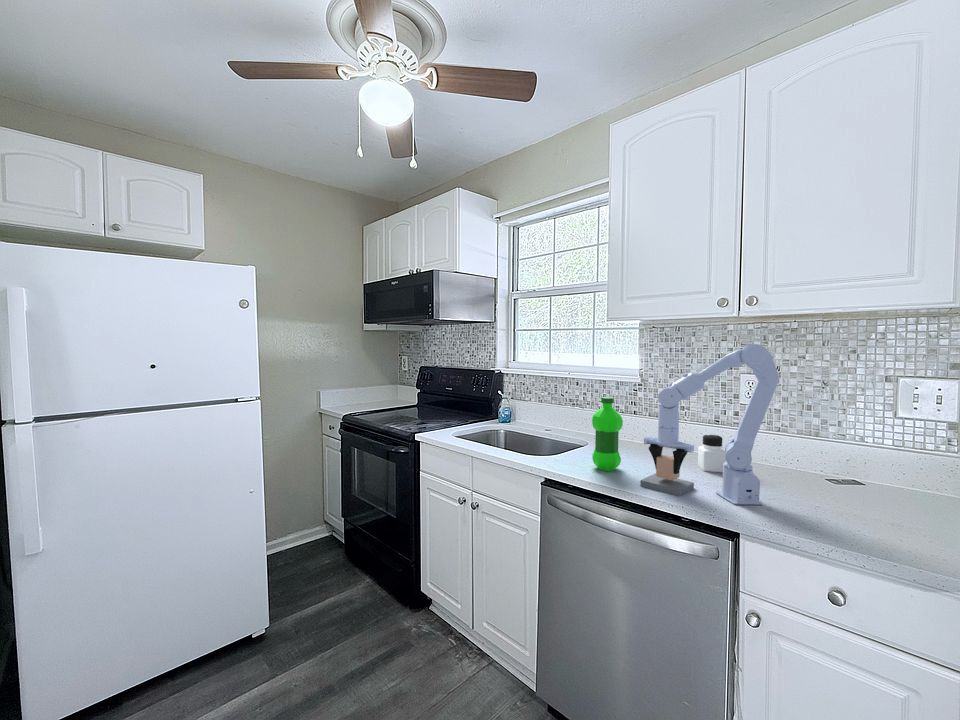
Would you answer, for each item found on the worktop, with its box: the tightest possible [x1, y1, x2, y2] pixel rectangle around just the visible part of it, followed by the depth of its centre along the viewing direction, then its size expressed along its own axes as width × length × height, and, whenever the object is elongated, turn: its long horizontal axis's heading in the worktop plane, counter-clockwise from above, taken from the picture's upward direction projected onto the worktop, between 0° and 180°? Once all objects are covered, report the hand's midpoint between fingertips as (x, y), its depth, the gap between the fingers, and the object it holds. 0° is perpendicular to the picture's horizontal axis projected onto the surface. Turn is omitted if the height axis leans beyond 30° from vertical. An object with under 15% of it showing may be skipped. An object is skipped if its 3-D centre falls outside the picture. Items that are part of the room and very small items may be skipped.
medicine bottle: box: [697, 433, 726, 473], centre depth 151 cm, size 7×7×12 cm
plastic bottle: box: [591, 396, 624, 472], centre depth 151 cm, size 10×10×25 cm
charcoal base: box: [640, 473, 695, 497], centre depth 132 cm, size 12×10×2 cm
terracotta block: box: [655, 454, 681, 480], centre depth 133 cm, size 5×5×6 cm
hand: (667, 471), depth 132 cm, fingers closed on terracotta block, 5 cm apart
